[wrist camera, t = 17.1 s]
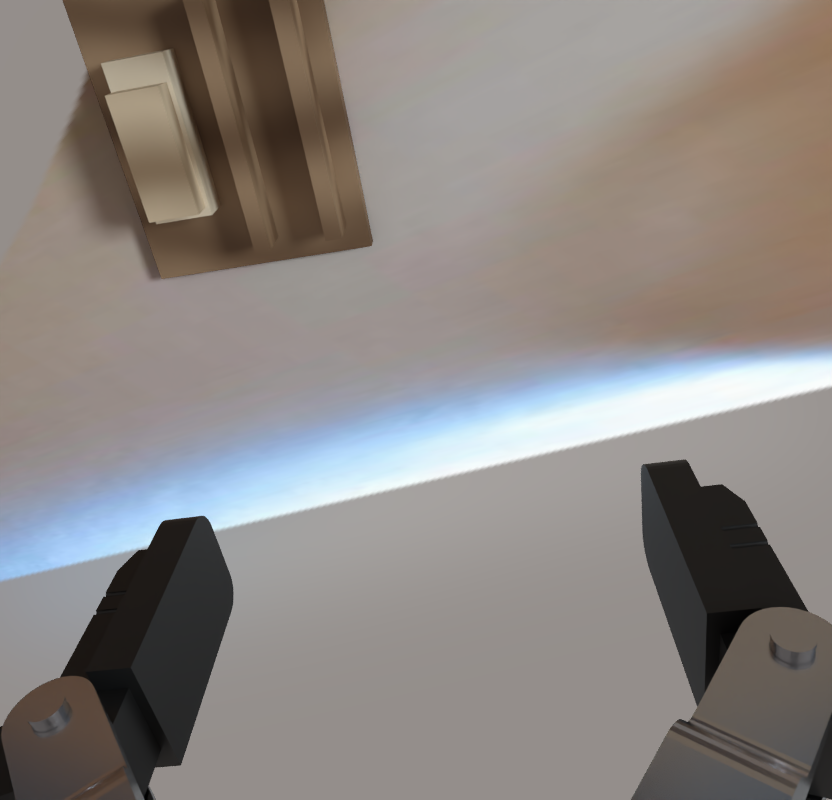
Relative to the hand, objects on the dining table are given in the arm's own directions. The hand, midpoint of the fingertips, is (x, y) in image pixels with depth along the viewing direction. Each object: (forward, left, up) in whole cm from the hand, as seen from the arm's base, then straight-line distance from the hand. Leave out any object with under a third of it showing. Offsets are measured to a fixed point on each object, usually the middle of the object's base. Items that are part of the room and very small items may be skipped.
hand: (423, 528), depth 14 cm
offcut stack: (-3, -16, -35) cm, 39 cm away
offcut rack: (-3, -12, -36) cm, 38 cm away
